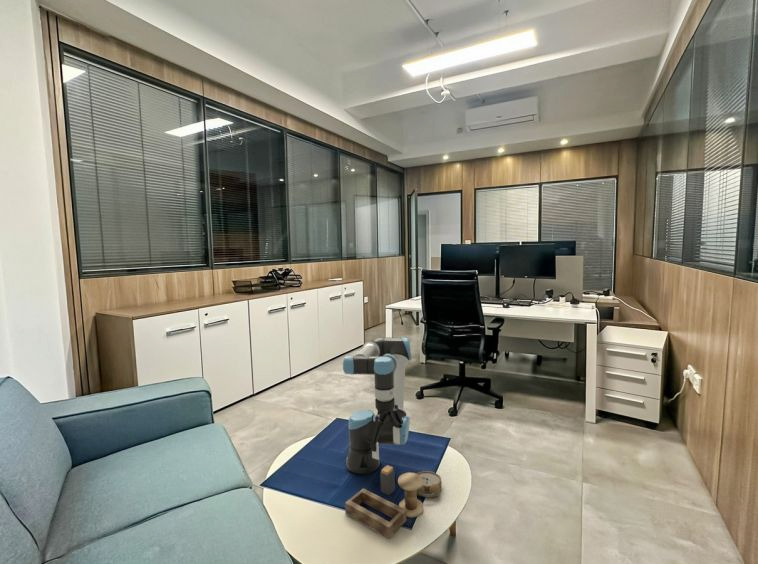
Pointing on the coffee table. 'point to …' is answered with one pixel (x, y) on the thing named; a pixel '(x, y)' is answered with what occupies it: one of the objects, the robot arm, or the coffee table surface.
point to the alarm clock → (429, 484)
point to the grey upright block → (387, 480)
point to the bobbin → (411, 494)
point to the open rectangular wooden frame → (372, 519)
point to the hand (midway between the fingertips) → (386, 450)
